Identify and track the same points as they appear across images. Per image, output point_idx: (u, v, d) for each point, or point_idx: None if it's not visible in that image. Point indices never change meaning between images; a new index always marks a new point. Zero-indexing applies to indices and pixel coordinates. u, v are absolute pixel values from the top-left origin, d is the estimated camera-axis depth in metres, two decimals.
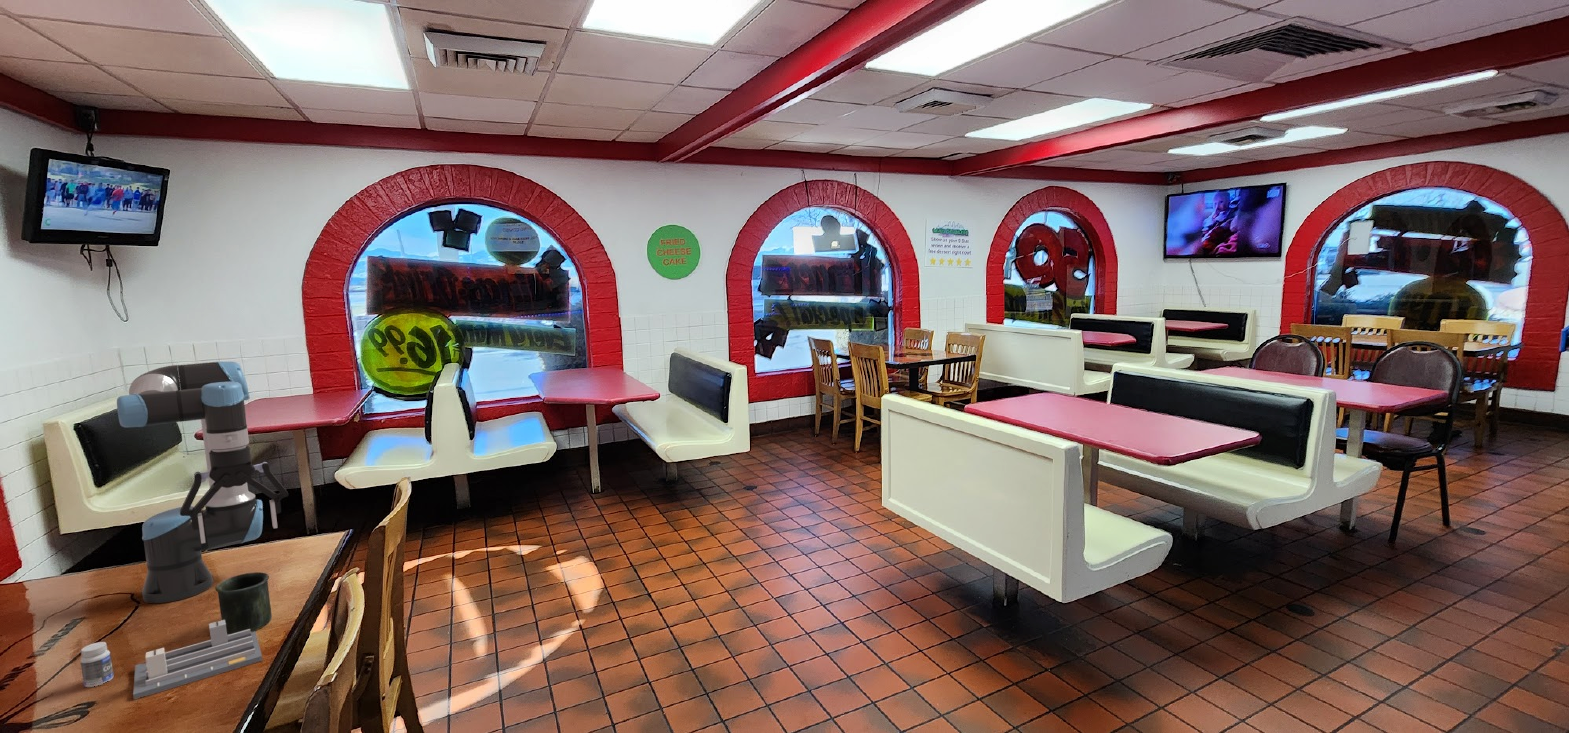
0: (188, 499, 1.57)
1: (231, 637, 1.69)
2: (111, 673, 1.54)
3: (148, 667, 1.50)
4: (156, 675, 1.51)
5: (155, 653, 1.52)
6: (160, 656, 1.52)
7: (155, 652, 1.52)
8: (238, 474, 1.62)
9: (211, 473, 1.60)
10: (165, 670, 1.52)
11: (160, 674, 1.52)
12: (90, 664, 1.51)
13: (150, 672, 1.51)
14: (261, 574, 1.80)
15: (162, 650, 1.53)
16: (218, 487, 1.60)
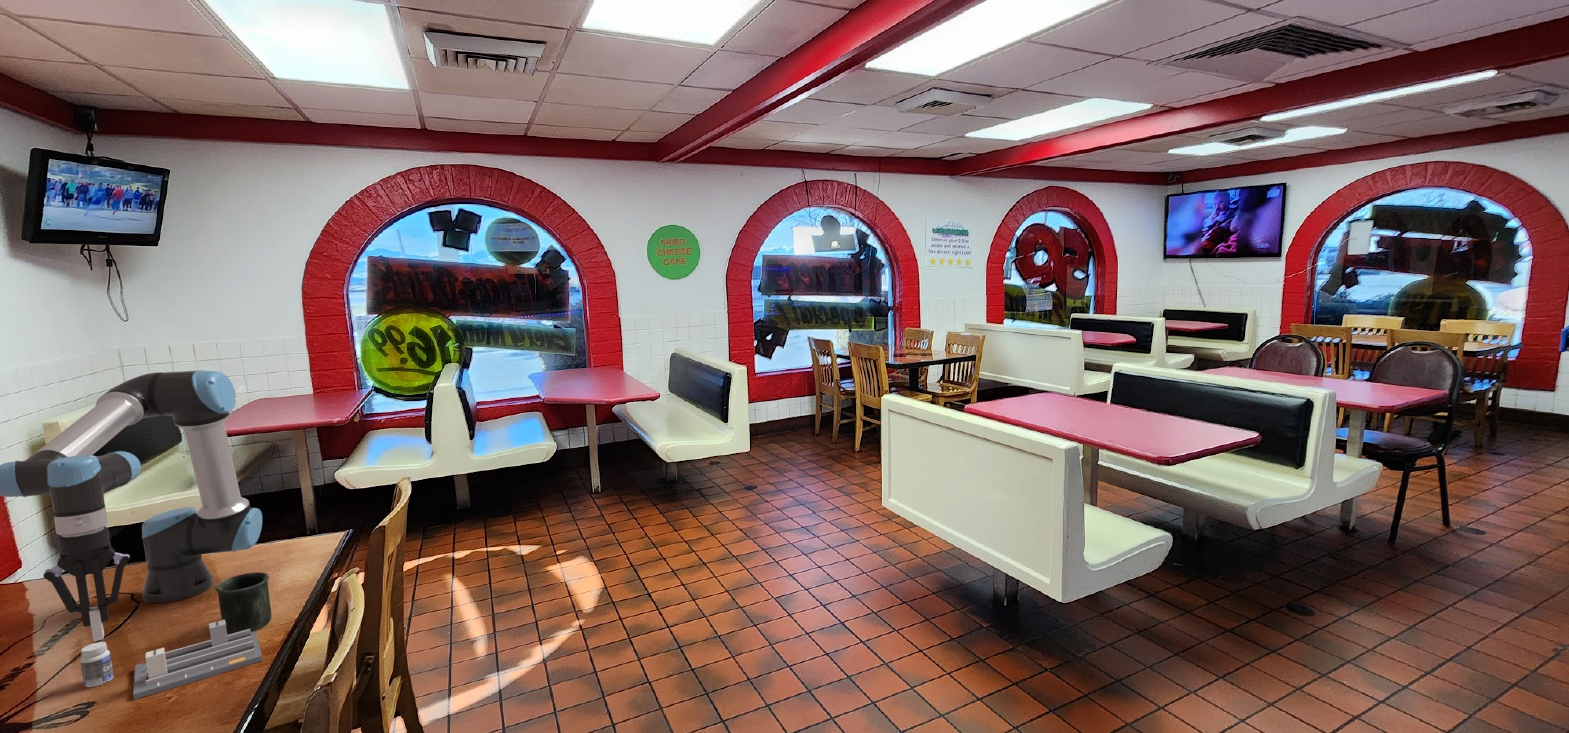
0: (62, 597, 1.40)
1: (231, 637, 1.69)
2: (111, 673, 1.54)
3: (148, 667, 1.50)
4: (156, 675, 1.51)
5: (155, 653, 1.52)
6: (160, 656, 1.52)
7: (155, 652, 1.52)
8: (94, 560, 1.43)
9: (58, 564, 1.40)
10: (165, 670, 1.52)
11: (160, 674, 1.52)
12: (90, 664, 1.51)
13: (150, 672, 1.51)
14: (261, 574, 1.80)
15: (162, 650, 1.53)
16: (80, 577, 1.42)
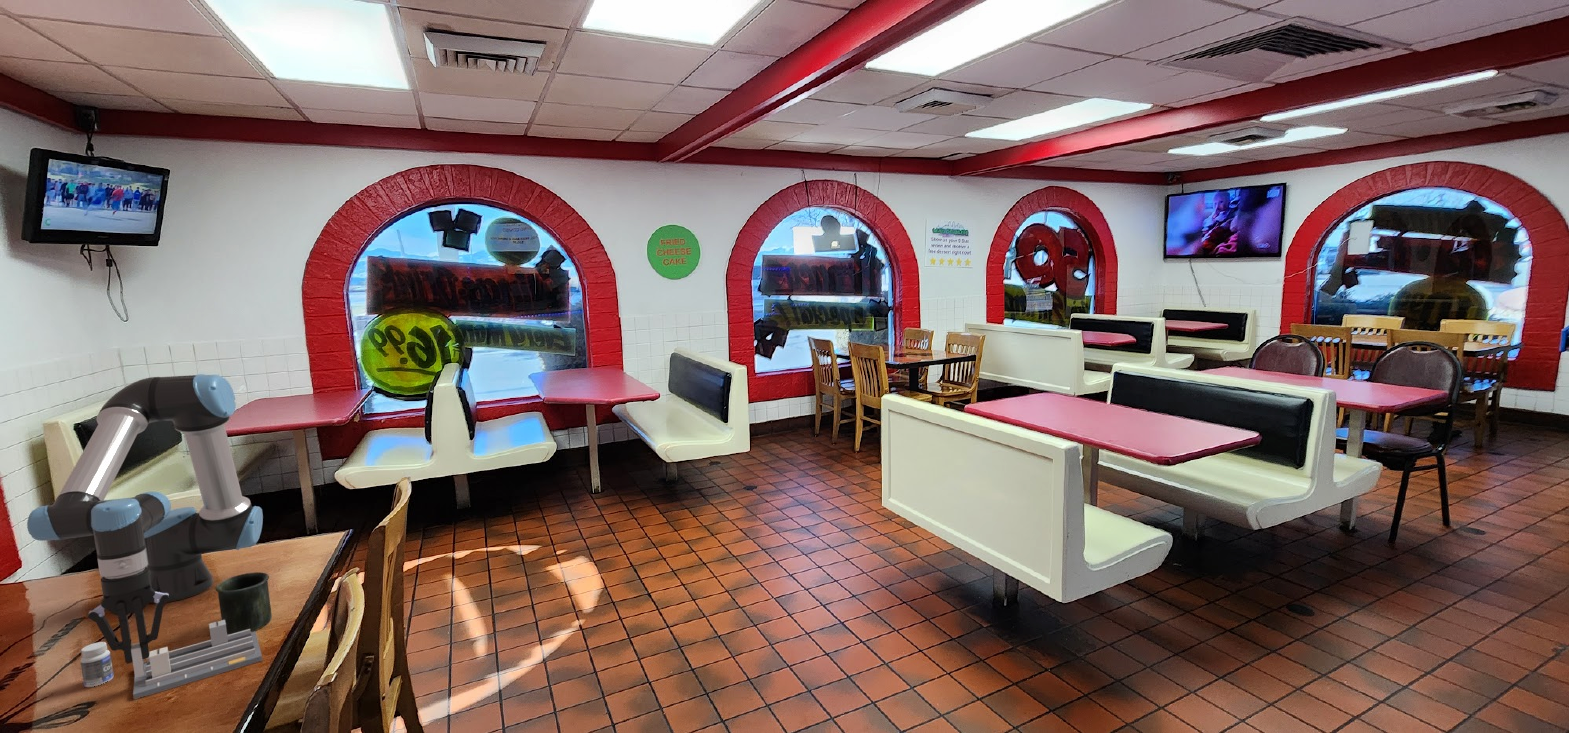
0: (105, 636, 1.46)
1: (231, 637, 1.69)
2: (111, 673, 1.54)
3: (152, 666, 1.51)
4: (160, 674, 1.52)
5: (159, 652, 1.52)
6: (163, 655, 1.52)
7: (158, 651, 1.53)
8: (135, 600, 1.48)
9: (102, 605, 1.45)
10: (168, 669, 1.53)
11: (163, 673, 1.52)
12: (90, 664, 1.51)
13: (153, 671, 1.51)
14: (261, 574, 1.80)
15: (165, 649, 1.53)
16: (123, 616, 1.47)
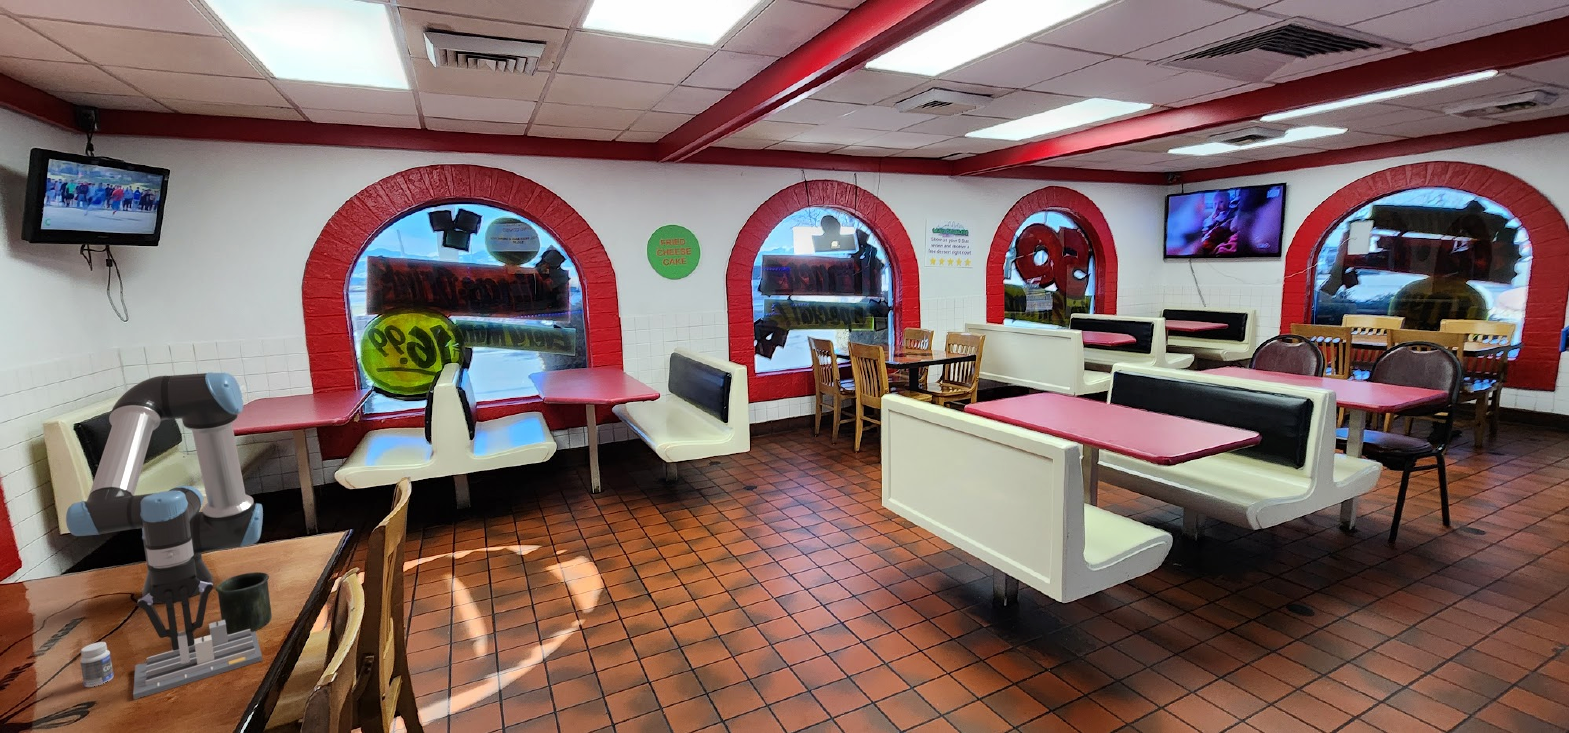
0: (154, 624, 1.51)
1: (231, 637, 1.69)
2: (111, 673, 1.54)
3: (197, 653, 1.56)
4: (204, 661, 1.57)
5: (203, 640, 1.57)
6: (208, 642, 1.57)
7: (203, 639, 1.58)
8: (182, 589, 1.53)
9: (151, 593, 1.50)
10: (212, 656, 1.58)
11: (208, 660, 1.57)
12: (90, 664, 1.51)
13: (198, 658, 1.56)
14: (261, 574, 1.80)
15: (209, 637, 1.58)
16: (170, 605, 1.52)
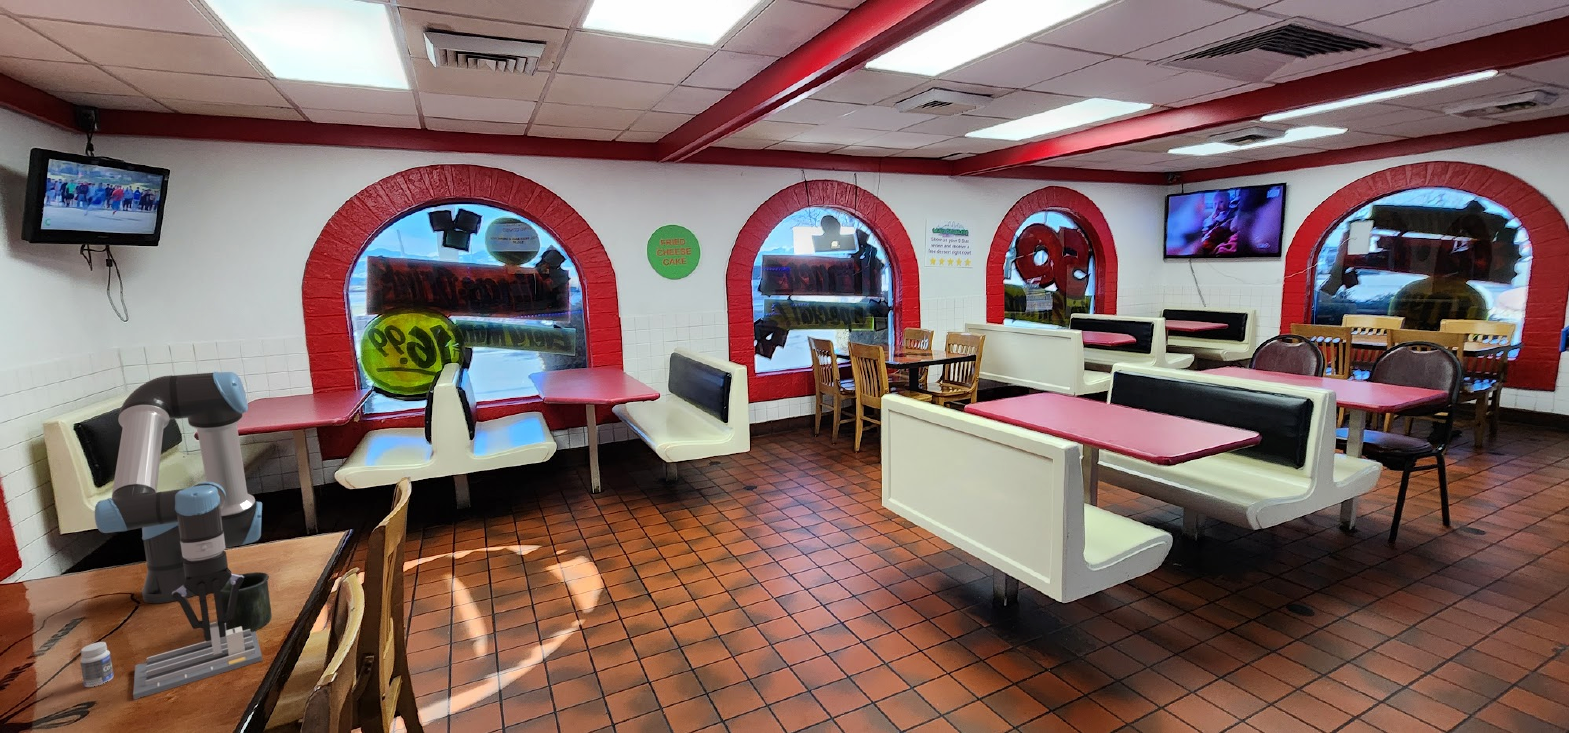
0: (187, 615, 1.54)
1: None
2: (111, 673, 1.54)
3: (228, 644, 1.59)
4: (235, 652, 1.60)
5: (234, 631, 1.61)
6: (239, 633, 1.61)
7: (234, 630, 1.61)
8: (214, 581, 1.56)
9: (184, 585, 1.54)
10: (243, 647, 1.61)
11: (239, 651, 1.61)
12: (90, 664, 1.51)
13: (230, 649, 1.60)
14: (261, 574, 1.80)
15: (240, 628, 1.62)
16: (203, 596, 1.55)
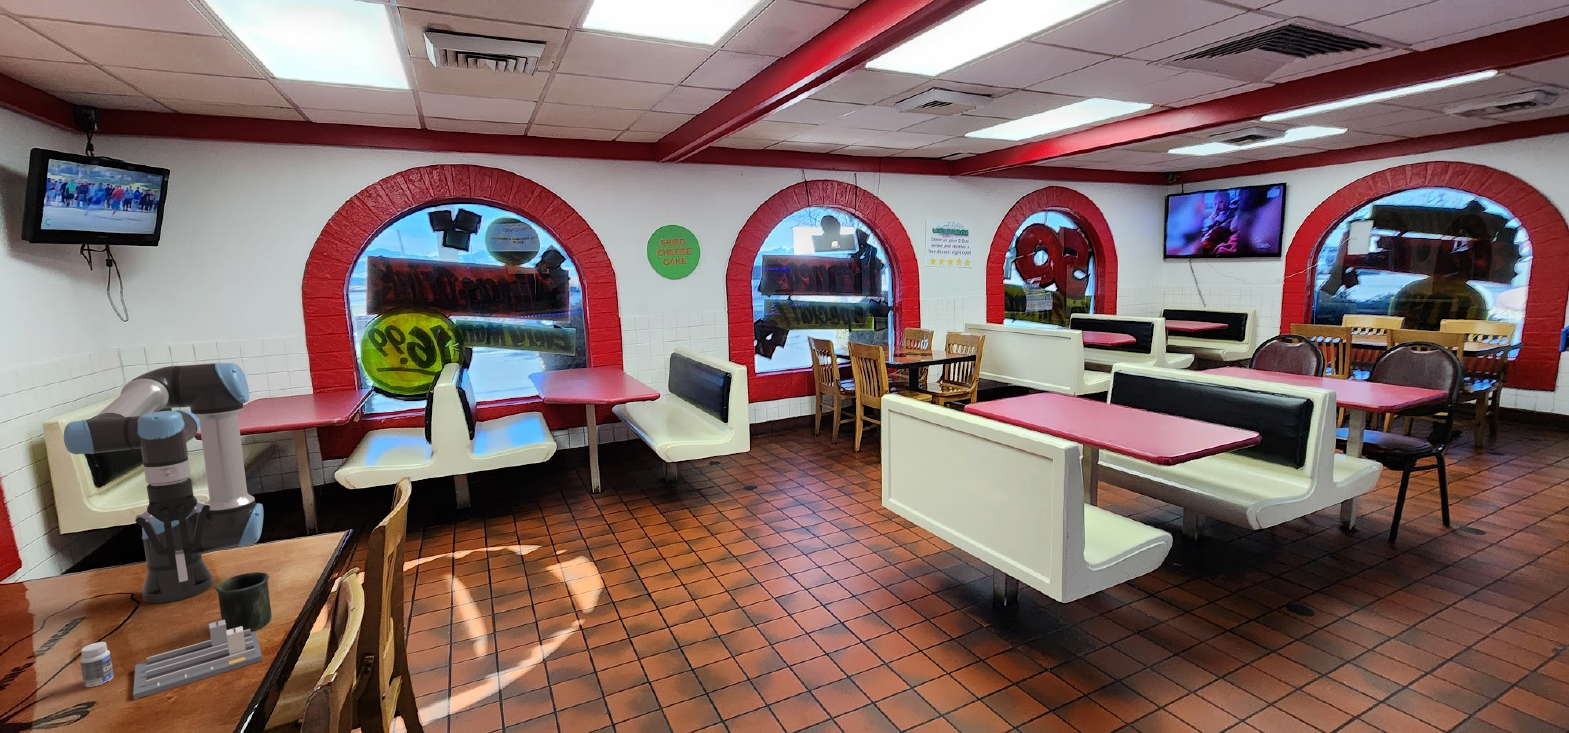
0: (152, 541, 1.53)
1: None
2: (111, 673, 1.54)
3: (229, 644, 1.60)
4: (236, 652, 1.61)
5: (235, 631, 1.61)
6: (240, 633, 1.61)
7: (235, 630, 1.61)
8: (179, 507, 1.55)
9: (148, 511, 1.52)
10: (244, 647, 1.62)
11: (239, 651, 1.61)
12: (90, 664, 1.51)
13: (231, 649, 1.60)
14: (261, 574, 1.80)
15: (241, 628, 1.62)
16: (168, 522, 1.54)
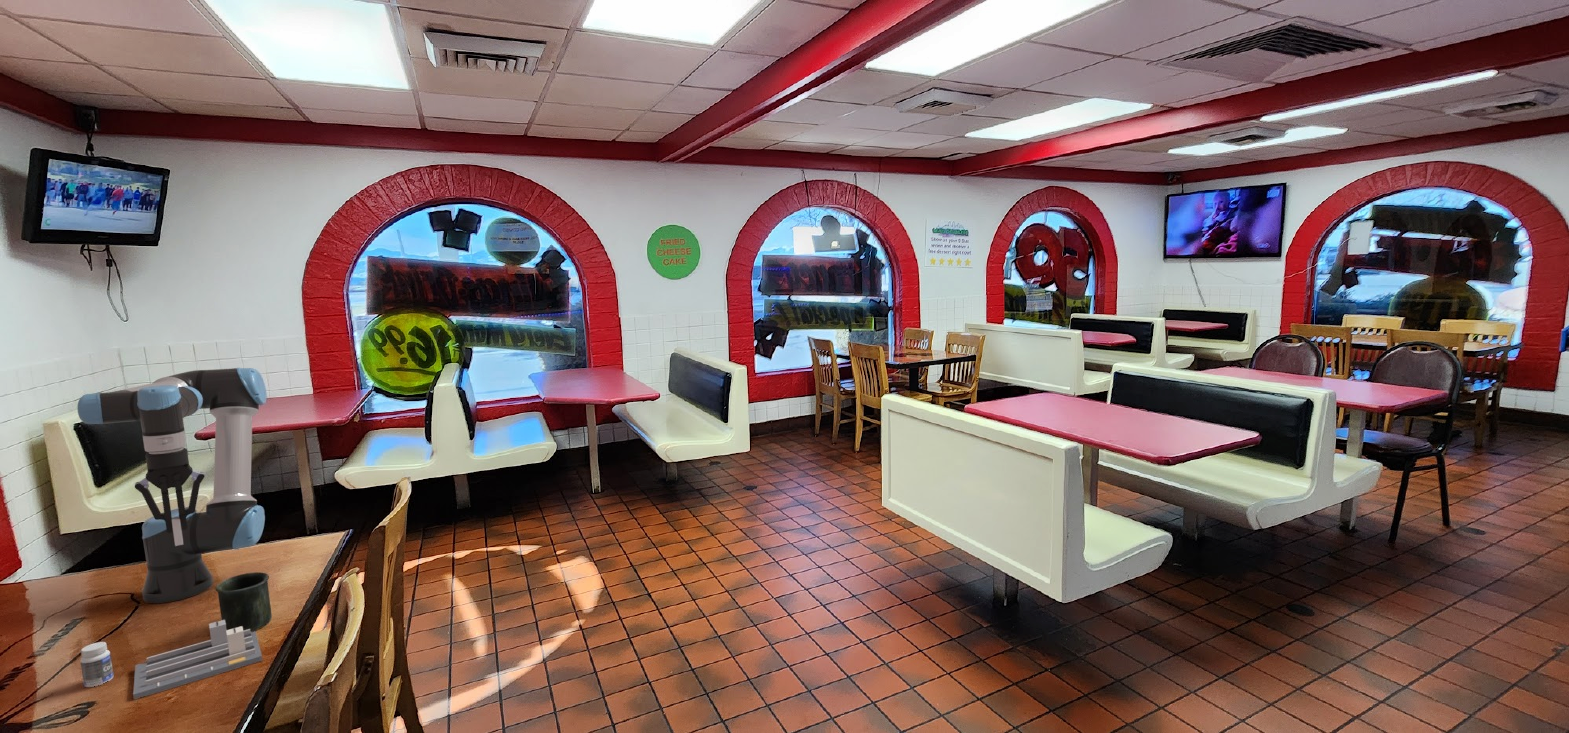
0: (150, 506, 1.64)
1: None
2: (111, 673, 1.54)
3: (229, 644, 1.60)
4: (236, 652, 1.61)
5: (235, 631, 1.61)
6: (240, 633, 1.61)
7: (235, 630, 1.61)
8: (176, 475, 1.66)
9: (147, 477, 1.63)
10: (244, 647, 1.62)
11: (239, 651, 1.61)
12: (90, 664, 1.51)
13: (231, 649, 1.60)
14: (261, 574, 1.80)
15: (241, 628, 1.62)
16: (165, 489, 1.65)
